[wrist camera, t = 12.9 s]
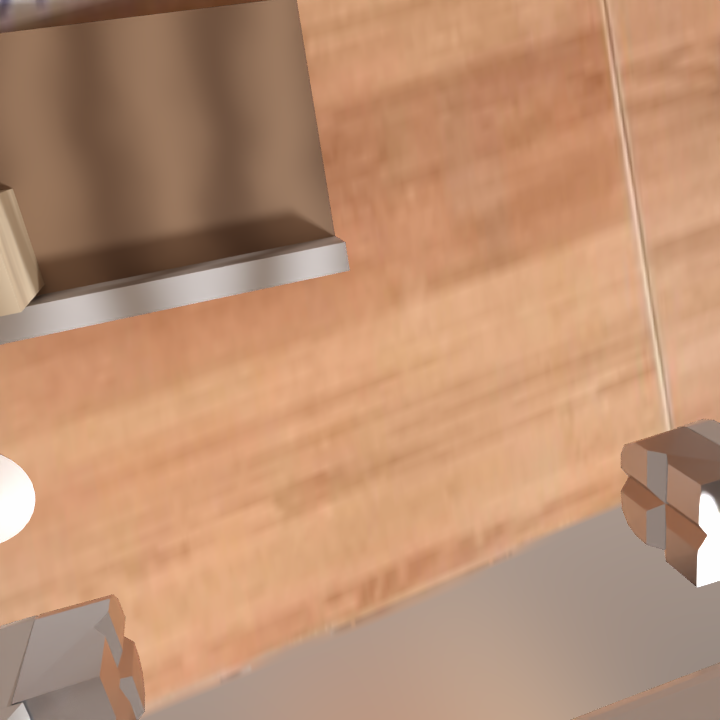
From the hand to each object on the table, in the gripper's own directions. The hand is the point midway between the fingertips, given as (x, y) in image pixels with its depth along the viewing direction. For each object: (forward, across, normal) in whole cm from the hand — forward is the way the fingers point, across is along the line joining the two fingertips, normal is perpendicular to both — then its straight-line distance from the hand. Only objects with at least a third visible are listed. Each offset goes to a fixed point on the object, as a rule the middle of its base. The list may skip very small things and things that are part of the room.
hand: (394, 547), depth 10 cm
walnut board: (+31, +5, -5) cm, 32 cm away
